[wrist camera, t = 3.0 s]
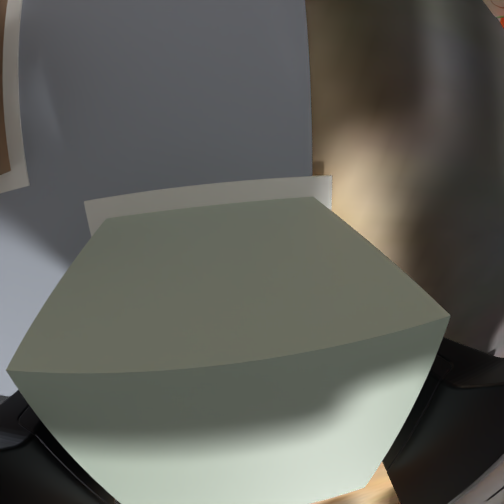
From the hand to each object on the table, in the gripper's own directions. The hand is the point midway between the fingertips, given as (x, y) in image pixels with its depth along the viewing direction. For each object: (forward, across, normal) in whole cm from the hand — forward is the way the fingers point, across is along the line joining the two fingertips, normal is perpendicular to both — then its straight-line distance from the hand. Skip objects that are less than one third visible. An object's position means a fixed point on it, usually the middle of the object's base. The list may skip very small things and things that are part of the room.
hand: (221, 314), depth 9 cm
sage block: (+1, 0, 0) cm, 1 cm away
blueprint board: (+1, +6, -5) cm, 8 cm away
